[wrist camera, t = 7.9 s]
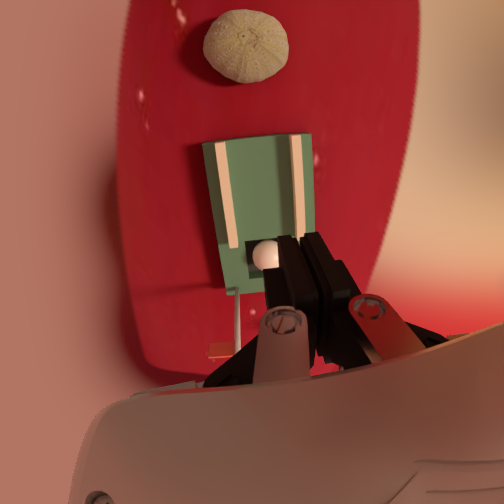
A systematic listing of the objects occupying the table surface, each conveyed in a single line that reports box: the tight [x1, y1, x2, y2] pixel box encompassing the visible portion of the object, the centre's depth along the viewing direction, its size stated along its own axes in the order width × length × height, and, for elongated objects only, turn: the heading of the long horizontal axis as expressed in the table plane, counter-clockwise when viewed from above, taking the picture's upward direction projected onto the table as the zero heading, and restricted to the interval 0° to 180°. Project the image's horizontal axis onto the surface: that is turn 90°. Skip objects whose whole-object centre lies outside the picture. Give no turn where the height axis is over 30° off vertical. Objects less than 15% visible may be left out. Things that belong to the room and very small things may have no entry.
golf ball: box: [252, 240, 279, 271], centre depth 35 cm, size 4×4×4 cm
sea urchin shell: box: [203, 9, 289, 83], centre depth 24 cm, size 9×8×8 cm
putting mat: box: [202, 132, 315, 358], centre depth 29 cm, size 20×14×14 cm
